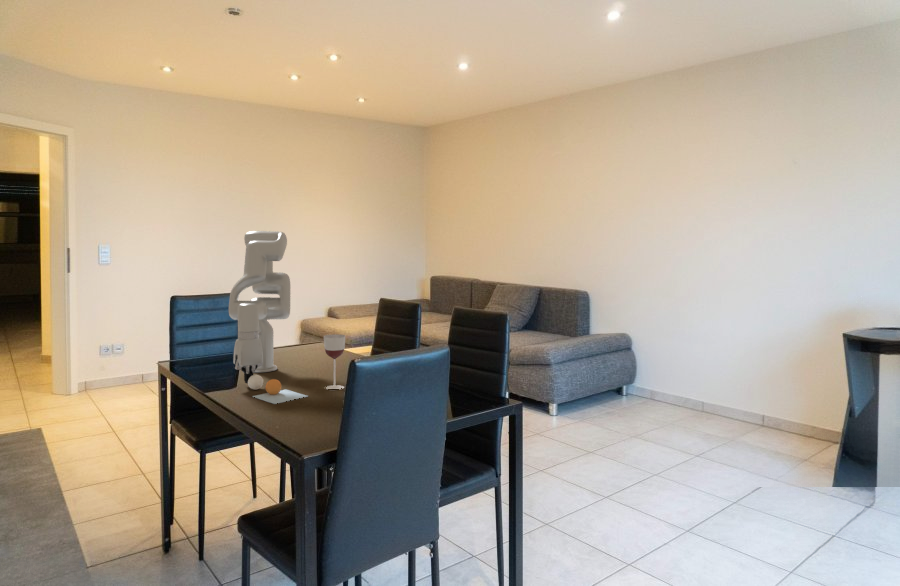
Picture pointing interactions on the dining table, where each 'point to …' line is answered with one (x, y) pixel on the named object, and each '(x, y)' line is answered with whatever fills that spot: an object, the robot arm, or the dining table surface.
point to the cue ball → (255, 382)
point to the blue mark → (280, 396)
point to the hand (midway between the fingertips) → (248, 382)
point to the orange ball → (273, 386)
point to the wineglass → (334, 352)
